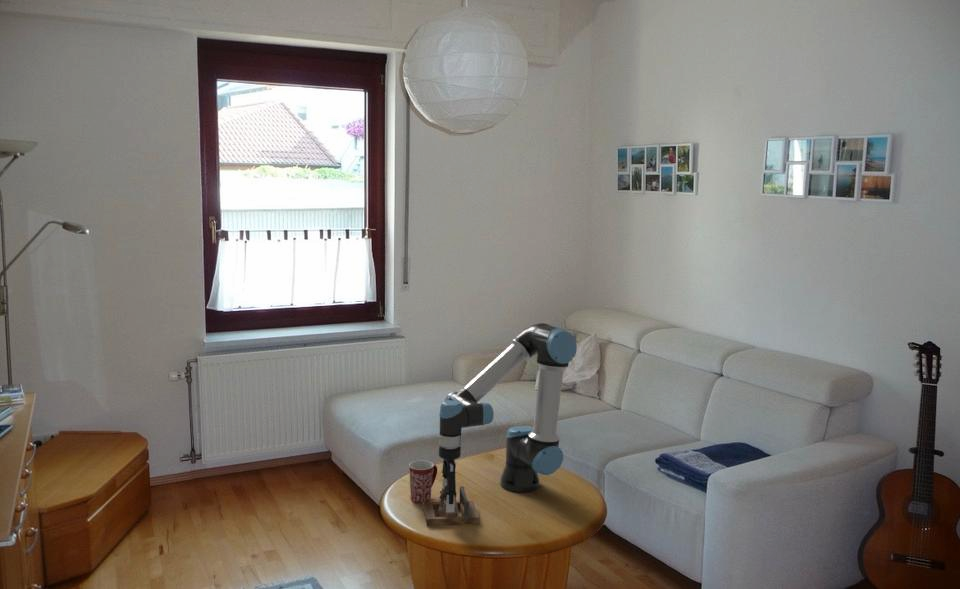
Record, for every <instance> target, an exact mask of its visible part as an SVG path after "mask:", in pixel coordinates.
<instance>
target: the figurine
mask: <svg viewBox="0 0 960 589" xmlns="http://www.w3.org/2000/svg"><path fill="white" fill-rule="evenodd" d="M446 493H447V484H446V485H444V486H443V487H442V486H441V490H440V491H439V494H440V496H439V500H440V501H439V502H440V504H439V509H438V510H437V517H452V516H459V509H458V507H457V501H458V500H457V496H458V495H457V493H456V495H455V510H454V512H449V513H447V512H446V505H447V495H445V494H446Z"/></svg>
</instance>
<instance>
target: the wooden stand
mask: <svg viewBox="0 0 960 589" xmlns="http://www.w3.org/2000/svg"><path fill="white" fill-rule="evenodd" d="M456 501H457V507H458V510H460V514H461V515H458V516H452V517H438V516H435V511H438V509H439V504H440V501H429V502H424V503H422V505H423V506H422V508H423V512H424V513H423V514H424V520H425V524H426V525H425V526H426V527H439V526H443V527H444V526H466V525H467V526H469V525H472V526H474V525H480V516H479V513H478V510H477V507H476V504H475V501H474V500H468V497H467V494H466V491H465V486H459V500H456Z"/></svg>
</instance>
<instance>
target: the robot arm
mask: <svg viewBox="0 0 960 589" xmlns="http://www.w3.org/2000/svg"><path fill="white" fill-rule="evenodd" d="M577 345H578V344H577V340H576V339H575V337H574V336H573V334H572V333H571V332H569V331H568V330H566V329H564V328H561V327H557V326H553V325H551V324H547V323H544V322H540V323H536V324H535V323H534V324H533V325H529V327H527V328H525V329H523V330H522V331H521V332H520V333H517V335H516V336H515V337H514V338H512V339H511V342H510V345H508V346H507V347H506V349H504V350H502V352H501V353H500V354H499V355H498V356H496V358H494V359H493V360H492V361H491V362H489V364H487V365H486V366H485V368H483V369H482V370H481V371H480V372H479V373H478V374H477V375H475V376H474V377H473V378H472V379H471V380H470V381H469V382H468V383H467V384H466V385H464V386H463V387H462V388H461V389H460V390H458V391H452V392H449V393H448V394H447V395H446V396H445V399H444V401H442V402H441V404H440V408H439V436H438V435H437V440H438V443H439V444H438V445H439V446H438V456H439V458H440V459H443V460H442V470H441V473H442V475H441V476H442V484H441V485H442V486H441V488H442V487H443V486H444V485H446V484H447V493H446V494H445V495H447V505H446V512H447V513H449V512H454V510H455V495H456V494H457V489H456V487H457V486H456V484H457V483H456V482H457V481H456V467H457V466H456V465H457V463H456V461H455V460H456V459H459V458H460V457H461V450H462V449H461V448H462V447H461V445H462V429H463V428H471V427H478V426H485V425H488V424H491V423H492V422H493V421H494V417H495V416H494V409H493V406H492V405H491V404H490V403H489V402H480V403H479V401H480V400H482V399H483V398H484V397H486V395H487V394H488V393H489V392H491V391H492V390H493V389H494V388H495V387H496V386H497V385H498V384H499V383H501V382H502V381H503V380H504V379H505V378H506V377H507V376H508V375H509V374H510V373H512V371H514V370H515V369H516V368H518V366H519V365H520V364H521V363H523V362H524V361H526V360H530V359H531V358H532V357H533V356H536V355H537V356H536V364H537V365H538V366H539V376H538V384H537V390H536V391H537V392H536V402H535V408H534V410H535V411H534V418H533V426H531V425H516V426H511V427H510V428H509V429H507V432H506V437H505V439H506V442H505V443H506V447H505V448H506V449H505V450H506V451H505V465H504V468H503V470H502V473H501V476H500V482H499V484H500V486H501V487H502V488H503V489H504V490H507V491H509V492H514V493H529V492H530V491H531V492H534V491H536V490H538V489H539V488H540V478H539V474H540V475H543V476H548V475H549V476H550V475H552V474H555V473H556V472H557V470H559V469H560V468H561V466H562V464H563V462H564V453H563V451H562V449H561V448H560V447H559V446H560V436H559V435H558V434H557V428H558V420H559V410H560V403H561V394H562V386H563V377H564V371H565V369H567V368H569V363H570V362H571V361H573V358H575V356H576V354H577V350H578V347H577ZM538 487H539V488H538ZM537 488H538V489H537ZM456 496H457V495H456Z"/></svg>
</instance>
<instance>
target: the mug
mask: <svg viewBox="0 0 960 589" xmlns="http://www.w3.org/2000/svg"><path fill="white" fill-rule="evenodd" d="M408 467H409V485H410V486H409V487H410V490H409V491H410V500H411V502H412V503H415V504H422V505H423V503H424V502H431V497H432V487H434V483H435V481H436V478H437V475H438V466H437V465H436V464H434V463H433V462H432V461H429V460H422V459H420V460H415V461H412V462H409V464H408Z"/></svg>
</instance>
